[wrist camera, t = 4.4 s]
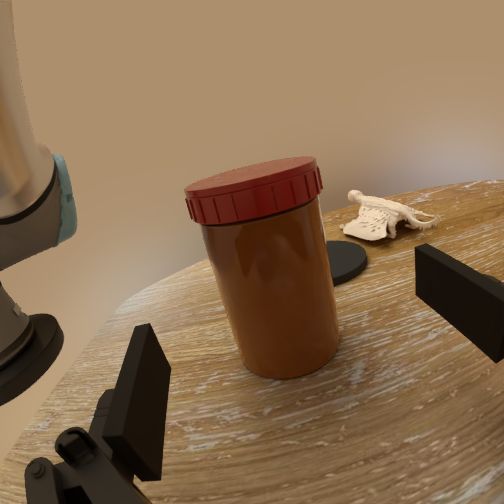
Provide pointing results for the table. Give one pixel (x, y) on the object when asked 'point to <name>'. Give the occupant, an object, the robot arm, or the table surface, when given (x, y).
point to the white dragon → (382, 217)
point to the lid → (254, 191)
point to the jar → (277, 289)
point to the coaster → (345, 260)
